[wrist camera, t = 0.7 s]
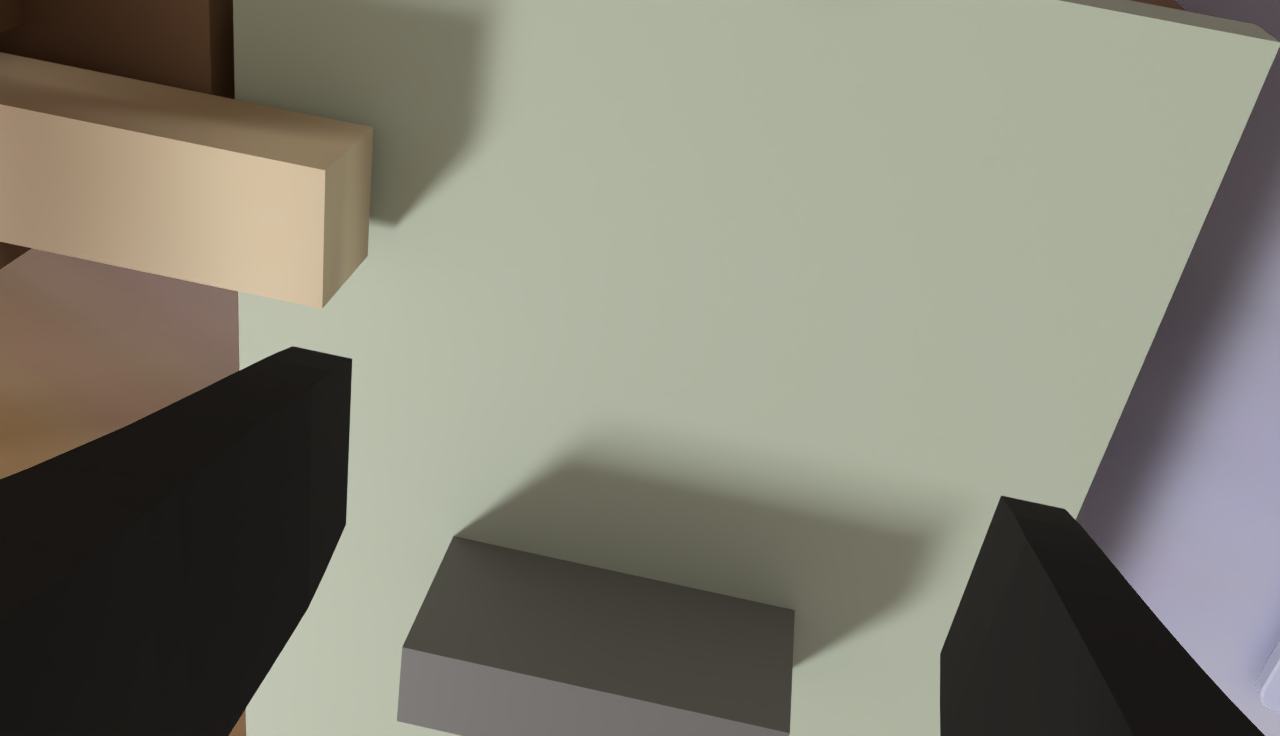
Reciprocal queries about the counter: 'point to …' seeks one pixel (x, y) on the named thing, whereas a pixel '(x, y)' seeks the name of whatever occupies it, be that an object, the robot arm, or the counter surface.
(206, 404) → the robot arm
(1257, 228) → the counter surface
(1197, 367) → the counter surface
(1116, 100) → the lid
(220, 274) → the key
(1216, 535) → the counter surface
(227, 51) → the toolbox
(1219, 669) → the counter surface
